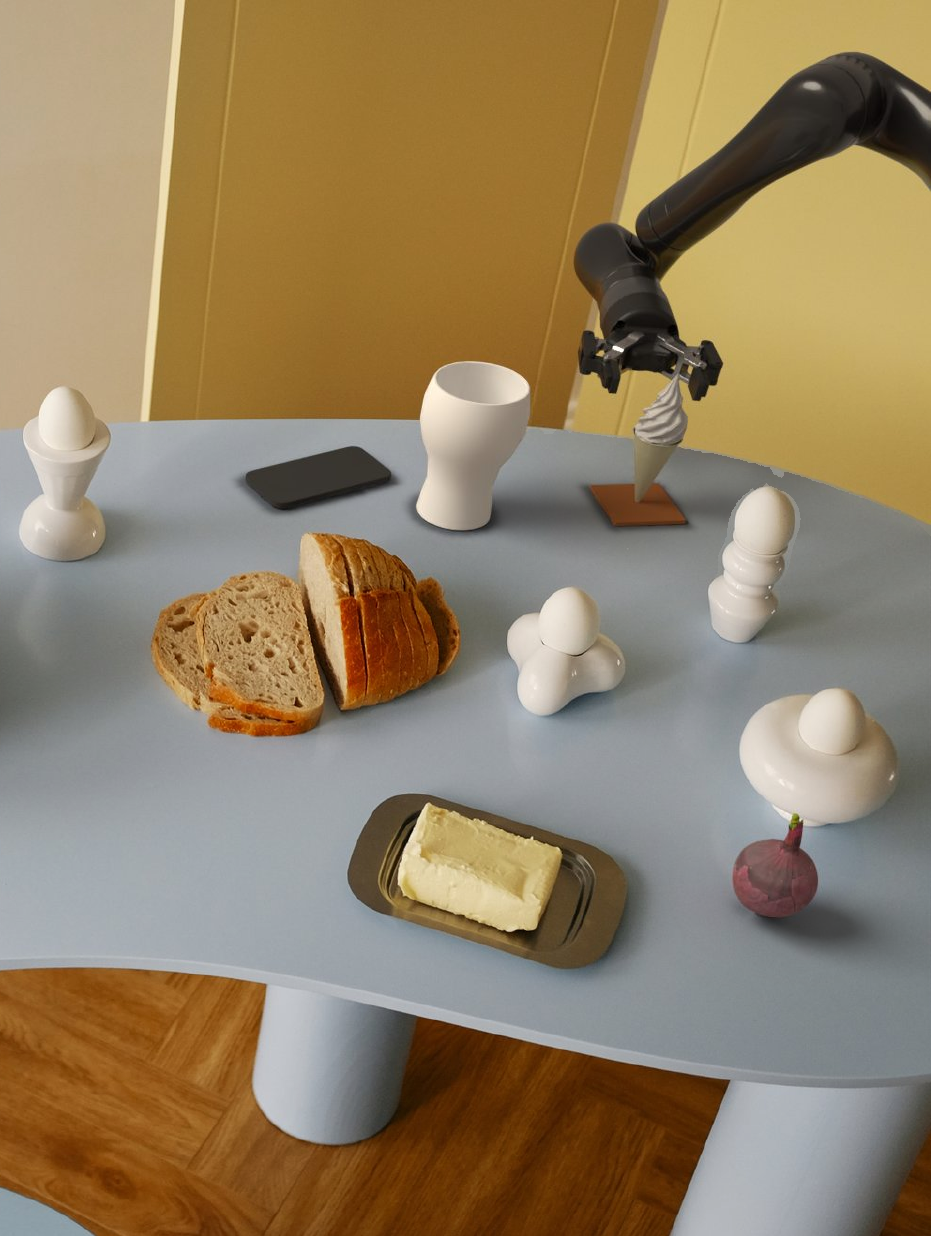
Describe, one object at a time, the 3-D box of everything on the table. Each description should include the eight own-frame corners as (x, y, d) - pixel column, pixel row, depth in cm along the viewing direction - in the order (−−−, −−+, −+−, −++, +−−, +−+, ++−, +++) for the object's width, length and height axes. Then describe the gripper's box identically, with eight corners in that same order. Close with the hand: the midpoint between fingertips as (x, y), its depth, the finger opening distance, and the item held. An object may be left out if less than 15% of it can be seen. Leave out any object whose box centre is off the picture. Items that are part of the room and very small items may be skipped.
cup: (402, 533, 171) (428, 402, 162) (401, 481, 179) (426, 354, 170) (507, 543, 170) (539, 412, 160) (501, 491, 178) (532, 363, 168)
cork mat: (657, 487, 179) (658, 483, 179) (685, 524, 173) (686, 520, 173) (589, 489, 178) (590, 485, 178) (614, 526, 173) (616, 522, 172)
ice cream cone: (655, 519, 173) (696, 389, 163) (607, 505, 175) (644, 376, 165) (667, 498, 176) (708, 369, 167) (620, 484, 178) (657, 357, 169)
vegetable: (800, 896, 130) (843, 802, 124) (800, 950, 126) (845, 855, 120) (720, 877, 132) (758, 783, 126) (716, 928, 128) (756, 834, 121)
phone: (241, 472, 179) (357, 443, 184) (240, 479, 179) (355, 450, 184) (278, 505, 174) (396, 474, 178) (277, 512, 174) (395, 481, 179)
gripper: (579, 285, 183) (596, 350, 171) (712, 296, 181) (739, 362, 169) (563, 348, 188) (578, 415, 176) (693, 358, 186) (717, 427, 174)
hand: (657, 389), depth 172 cm, fingers open, 8 cm apart
